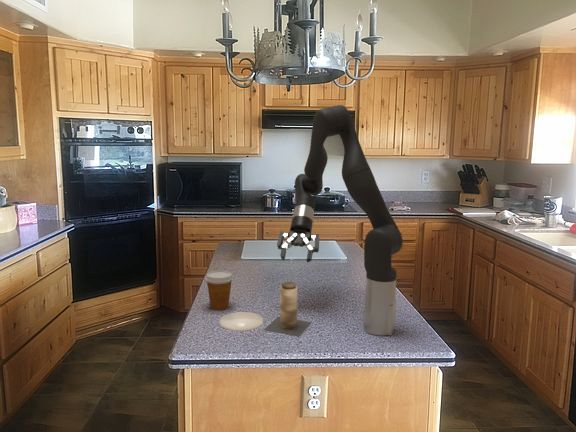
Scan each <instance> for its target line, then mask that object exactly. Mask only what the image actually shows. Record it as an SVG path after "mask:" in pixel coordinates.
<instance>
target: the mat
mask: <svg viewBox="0 0 576 432" xmlns="http://www.w3.org/2000/svg"><path fill="white" fill-rule="evenodd" d="M312 323H313V321H305V320H299V319H297V326H296V328H294V329H290V330H286V329H282V328H280V316H277V317H276V318H274V319H273V321H271V323H269V324H268V325H267V326H266V327H265V328H263V331H266V332H271V333H276V334H281V335H288V336H292V337H293V336H294V337H298V338H300V336H301V335H302V334H303V333H304V332H305V331H306V330H307V328H308V327H310V325H311V324H312Z"/></svg>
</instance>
